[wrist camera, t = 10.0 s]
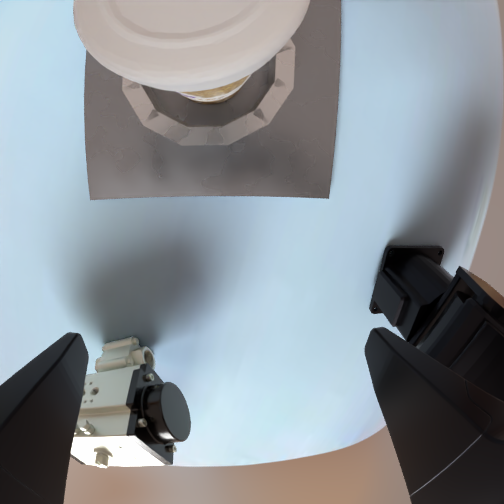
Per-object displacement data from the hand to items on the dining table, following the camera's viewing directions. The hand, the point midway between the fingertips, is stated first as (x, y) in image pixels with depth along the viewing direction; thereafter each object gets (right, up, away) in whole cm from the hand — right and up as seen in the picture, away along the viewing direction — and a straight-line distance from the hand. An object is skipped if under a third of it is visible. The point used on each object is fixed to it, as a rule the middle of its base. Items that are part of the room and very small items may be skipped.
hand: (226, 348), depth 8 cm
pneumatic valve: (-11, -6, +17) cm, 21 cm away
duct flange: (-2, +14, +8) cm, 16 cm away
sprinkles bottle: (-2, +14, +7) cm, 15 cm away
